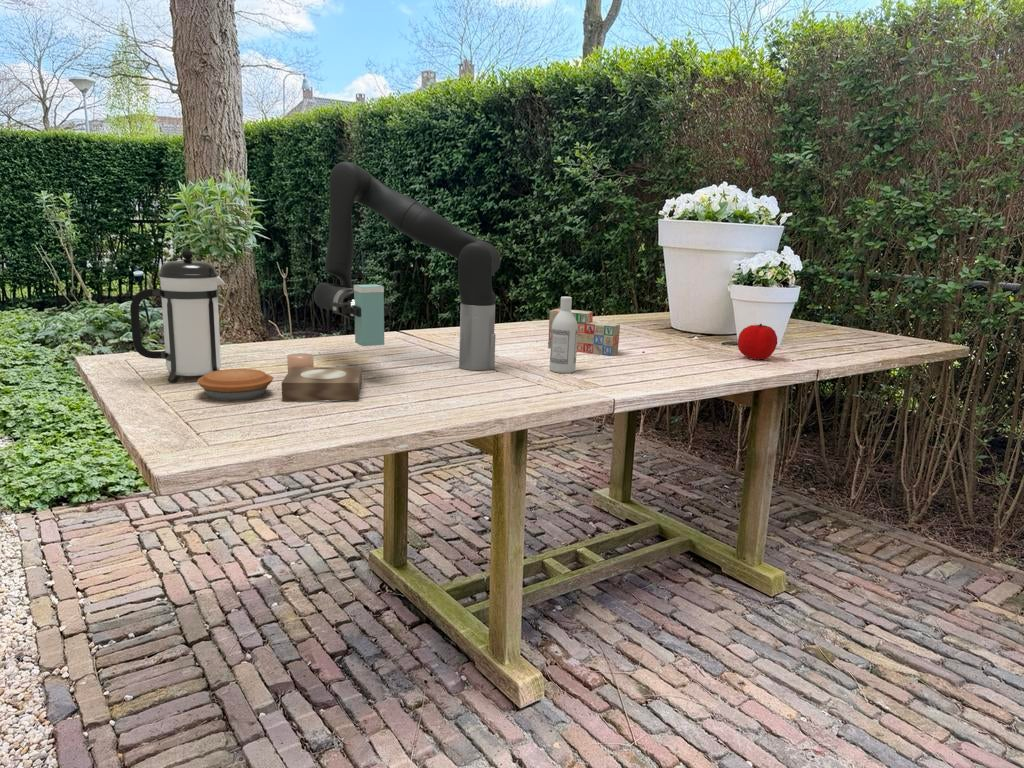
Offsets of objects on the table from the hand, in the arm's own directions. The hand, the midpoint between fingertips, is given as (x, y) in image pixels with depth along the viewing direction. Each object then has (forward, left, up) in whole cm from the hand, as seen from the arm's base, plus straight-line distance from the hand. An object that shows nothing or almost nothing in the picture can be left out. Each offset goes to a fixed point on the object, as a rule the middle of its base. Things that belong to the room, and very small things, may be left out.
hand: (372, 311), depth 174 cm
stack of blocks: (-63, -44, -17) cm, 79 cm away
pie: (+29, +13, -17) cm, 36 cm away
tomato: (-116, -33, -17) cm, 122 cm away
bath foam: (-50, -13, -17) cm, 55 cm away
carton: (+1, -2, -8) cm, 8 cm away
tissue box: (+11, +11, -17) cm, 23 cm away
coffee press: (+43, -3, -17) cm, 46 cm away
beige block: (+17, -1, -17) cm, 24 cm away
